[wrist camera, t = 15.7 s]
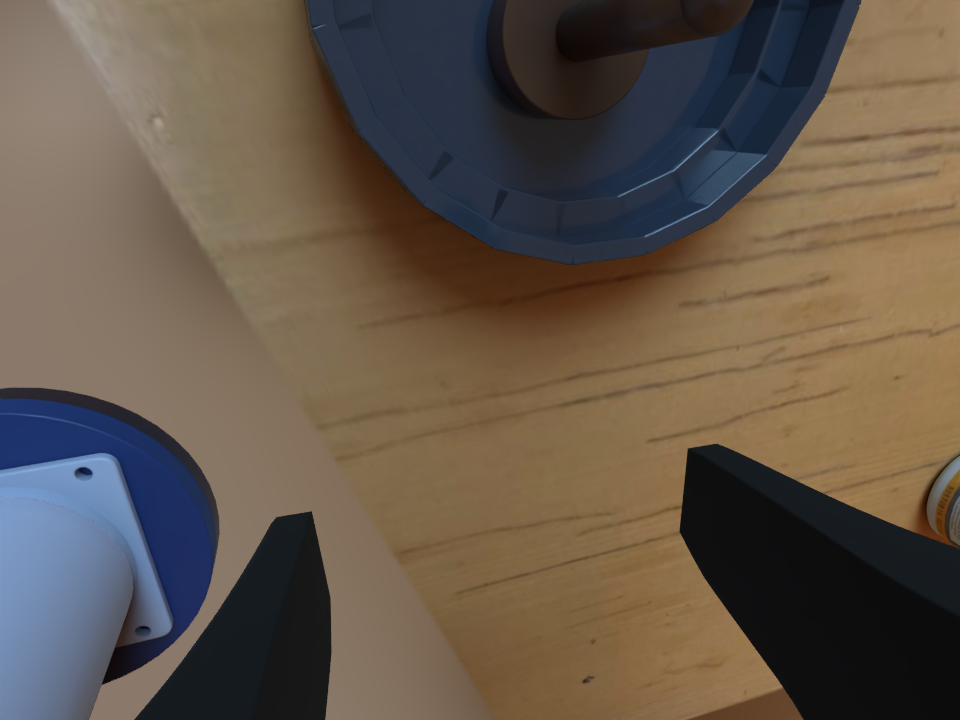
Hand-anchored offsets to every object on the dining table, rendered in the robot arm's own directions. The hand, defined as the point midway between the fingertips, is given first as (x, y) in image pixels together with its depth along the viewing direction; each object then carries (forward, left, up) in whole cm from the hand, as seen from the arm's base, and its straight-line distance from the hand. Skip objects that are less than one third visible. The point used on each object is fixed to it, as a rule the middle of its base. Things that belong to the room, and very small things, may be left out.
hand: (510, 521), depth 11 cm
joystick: (+5, +9, -10) cm, 14 cm away
